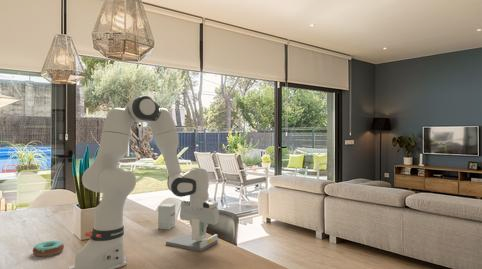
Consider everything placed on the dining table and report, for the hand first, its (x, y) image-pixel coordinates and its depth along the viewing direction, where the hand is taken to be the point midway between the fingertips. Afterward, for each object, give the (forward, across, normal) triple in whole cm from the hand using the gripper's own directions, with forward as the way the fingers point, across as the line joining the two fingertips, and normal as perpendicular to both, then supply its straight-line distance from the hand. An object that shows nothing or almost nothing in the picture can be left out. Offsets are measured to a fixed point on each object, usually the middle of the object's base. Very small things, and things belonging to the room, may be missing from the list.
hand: (198, 231), depth 160 cm
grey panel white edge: (+7, -4, 0) cm, 8 cm away
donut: (+7, -53, -39) cm, 66 cm away
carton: (+4, 0, 0) cm, 4 cm away
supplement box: (+7, -32, +16) cm, 36 cm away
